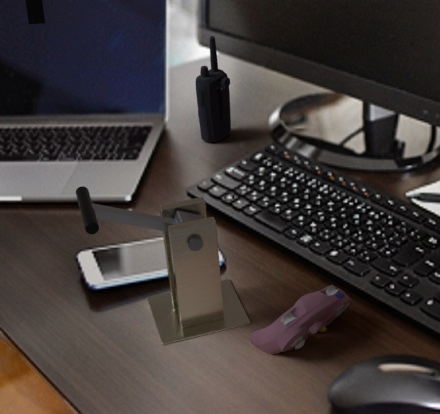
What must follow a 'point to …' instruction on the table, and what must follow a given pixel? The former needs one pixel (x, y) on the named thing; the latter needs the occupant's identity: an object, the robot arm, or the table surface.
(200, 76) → the two-way radio
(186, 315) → the bracket
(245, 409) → the table surface
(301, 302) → the pink toy race car
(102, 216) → the lever
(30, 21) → the robot arm
